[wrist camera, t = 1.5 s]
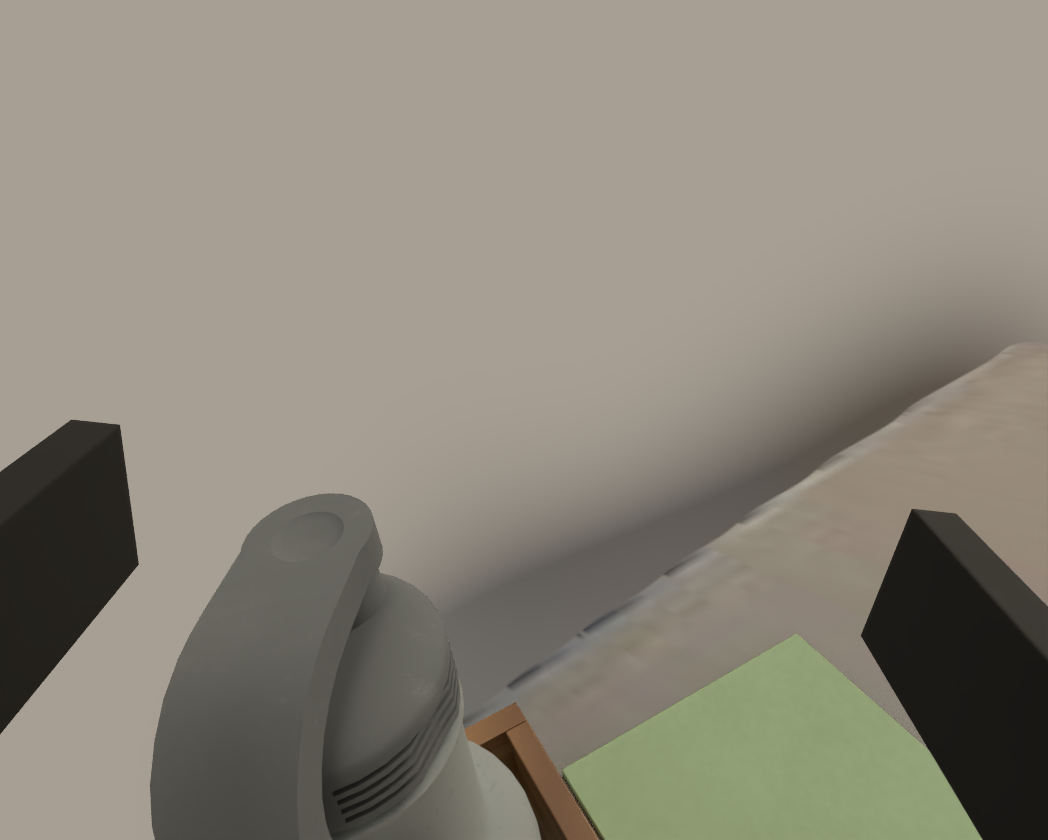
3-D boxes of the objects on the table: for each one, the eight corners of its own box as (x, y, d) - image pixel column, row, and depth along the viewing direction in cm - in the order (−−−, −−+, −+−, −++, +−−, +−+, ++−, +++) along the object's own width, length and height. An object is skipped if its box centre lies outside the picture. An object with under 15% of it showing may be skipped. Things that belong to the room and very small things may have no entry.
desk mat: (795, 639, 48) (796, 633, 48) (1038, 856, 36) (1042, 849, 35) (562, 775, 42) (561, 769, 42) (755, 1092, 30) (756, 1087, 29)
